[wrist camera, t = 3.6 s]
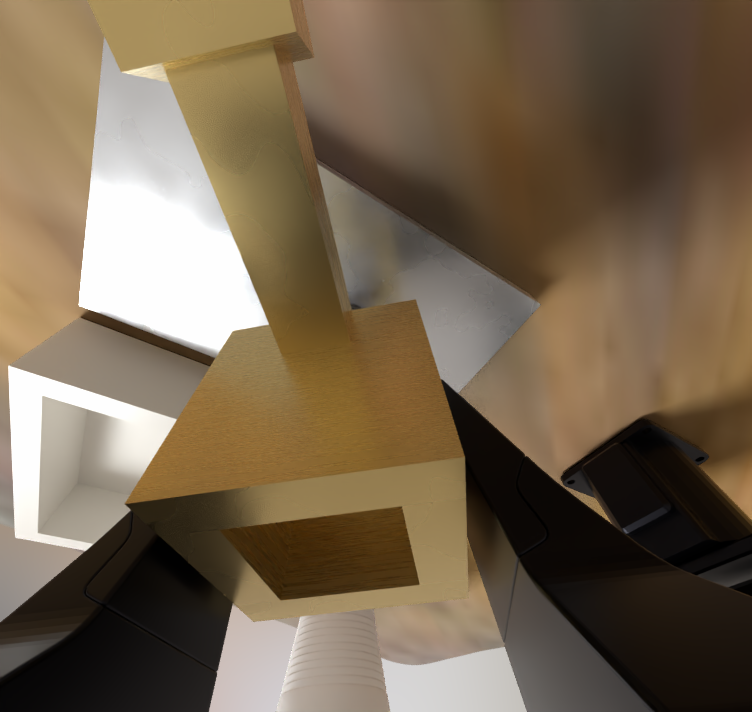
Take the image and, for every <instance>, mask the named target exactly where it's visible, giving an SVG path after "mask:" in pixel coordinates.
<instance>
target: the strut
mask: <svg viewBox="0 0 752 712" xmlns="http://www.w3.org/2000/svg"><path fill="white" fill-rule="evenodd" d="M87 1H88V3H89V5H90V7H91V9H92V11H93V14H94V16H95V18H96V20H97V22H98V24H99V26H100V28H101V31H102V33H103V35H104V37H105V39H106V41H107V43H108V45H109V48H110V50H111V52H112V54H113V56H114V58H115V60H116V62H117V65H118V67H119V69H120V71H121V72H122V73H126V74H131V75H136V76H140V77H145V78H150V79H154V80H159V81H163V82H168V83H170V85H171V88H172V90H173V92H174V95H175V97H176V100H177V102H178V105H179V107H180V109H181V112H182V114H183V117H184V119H185V122H186V124H187V126H188V129H189V131H190V134H191V136H192V139H193V141H194V143H195V146H196V148H197V151H198V153H199V156H200V158H201V160H202V163H203V165H204V168H205V170H206V172H207V175H208V177H209V180H210V182H211V185H212V187H213V189H214V192H215V194H216V197H217V199H218V202H219V204H220V206H221V209H222V211H223V214H224V216H225V219H226V221H227V223H228V226H229V228H230V231H231V233H232V236H233V238H234V240H235V243H236V245H237V248H238V250H239V253H240V255H241V257H242V260H243V262H244V265H245V267H246V270H247V272H248V274H249V277H250V279H251V282H252V284H253V287H254V289H255V291H256V294H257V296H258V299H259V301H260V304H261V306H262V308H263V311H264V313H265V316H266V318H267V321H268V323H269V325H263V326H257V327H252V328H246V329H240V330H234V331H232V332H231V334H230V336H229V337H228V339H227V340H226V342H225V344H224V345H223V347H222V348H221V350H220V352H219V353H218V355H217V356H216V358H215V360H214V361H213V363H212V364H211V366H210V368H209V369H208V371H207V372H206V374H205V376H204V377H203V379H202V380H201V382H200V384H199V385H198V387H197V388H196V390H195V392H194V393H193V395H192V396H191V398H190V400H189V401H188V403H187V405H186V406H185V408H184V409H183V411H182V413H181V414H180V416H179V417H178V419H177V421H176V422H175V424H174V425H173V427H172V429H171V430H170V432H169V433H168V435H167V437H166V438H165V440H164V441H163V443H162V445H161V446H160V448H159V449H158V451H157V453H156V454H155V456H154V457H153V459H152V461H151V462H150V464H149V465H148V467H147V469H146V470H145V472H144V473H143V475H142V477H141V478H140V480H139V481H138V483H137V485H136V486H135V488H134V489H133V491H132V493H131V494H130V496H129V497H128V499H127V501H126V502H125V505H126V506H127V507H128V508H129V509H130V510H131V511H132V512H134V513H135V514H136V515H137V516H138V517H139V518H140V519H141V520H142V521H143V522H145V523H146V524H147V525H148V526H149V527H150V528H151V529H152V530H153V531H154V532H155V533H157V534H158V535H159V536H160V537H161V538H162V539H163V540H164V541H165V542H166V543H168V544H169V545H170V546H171V547H172V548H173V549H174V550H175V551H176V552H177V553H179V554H180V555H181V556H182V557H183V558H184V559H185V560H186V561H187V562H188V563H190V564H191V565H192V566H193V567H194V568H195V569H196V570H197V571H198V572H199V573H200V574H202V575H203V576H204V577H205V578H206V579H207V580H208V581H209V582H210V583H211V584H213V585H214V586H215V587H216V588H217V589H218V590H219V591H220V592H221V593H222V594H224V595H225V596H226V597H227V598H228V599H229V600H230V601H231V602H232V603H233V604H235V605H236V606H237V607H238V608H239V609H240V610H241V611H242V612H243V613H244V614H246V615H247V616H248V617H249V618H250V619H251V620H252V621H253V622H256V621H265V620H274V619H284V618H293V617H302V616H311V615H320V614H329V613H338V612H348V611H357V610H366V609H375V608H384V607H393V606H402V605H411V604H421V603H430V602H439V601H448V600H457V599H466V598H469V594H468V555H467V517H466V479H465V456H464V452H463V449H462V446H461V443H460V440H459V436H458V433H457V430H456V427H455V424H454V420H453V417H452V414H451V411H450V407H449V404H448V401H447V398H446V395H445V391H444V388H443V385H442V382H441V379H440V375H439V372H438V369H437V366H436V363H435V359H434V356H433V353H432V350H431V346H430V343H429V340H428V337H427V334H426V330H425V327H424V324H423V321H422V318H421V314H420V311H419V308H418V305H417V302H416V299H414V300H408V301H402V302H397V303H391V304H385V305H379V306H373V307H368V308H362V309H356V310H352V309H351V305H350V300H349V296H348V292H347V288H346V284H345V279H344V275H343V271H342V267H341V263H340V259H339V254H338V250H337V246H336V242H335V238H334V233H333V229H332V225H331V221H330V217H329V213H328V208H327V204H326V200H325V196H324V192H323V187H322V183H321V179H320V175H319V171H318V167H317V162H316V158H315V154H314V150H313V146H312V141H311V137H310V133H309V129H308V125H307V121H306V116H305V112H304V108H303V104H302V100H301V95H300V91H299V87H298V83H297V79H296V75H295V70H294V66H293V62H296V61H301V60H305V59H310V58H314V53H313V48H312V43H311V39H310V34H309V29H308V24H307V19H306V15H305V10H304V5H303V0H87Z"/></svg>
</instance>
